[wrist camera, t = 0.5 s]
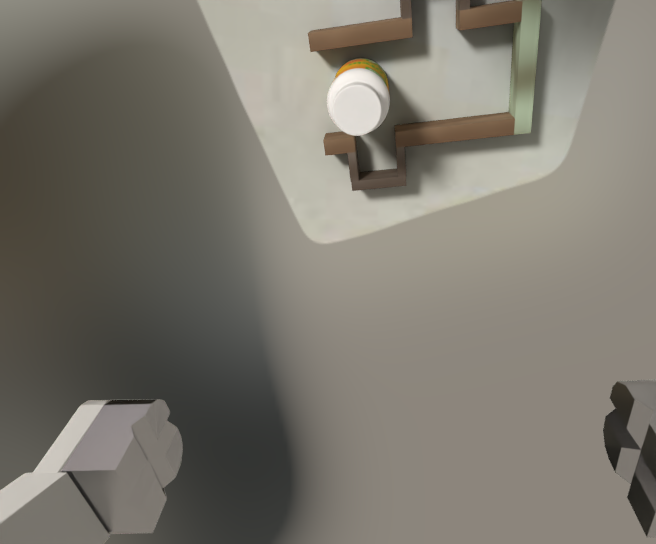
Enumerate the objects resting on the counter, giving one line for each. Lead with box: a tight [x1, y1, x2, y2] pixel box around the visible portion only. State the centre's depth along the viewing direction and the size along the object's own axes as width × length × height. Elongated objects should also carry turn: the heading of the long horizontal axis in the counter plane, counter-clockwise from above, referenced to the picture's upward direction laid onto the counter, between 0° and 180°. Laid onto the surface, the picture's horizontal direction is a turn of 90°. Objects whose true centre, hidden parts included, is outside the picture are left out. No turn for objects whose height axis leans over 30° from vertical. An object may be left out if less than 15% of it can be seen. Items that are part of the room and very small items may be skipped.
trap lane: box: [308, 0, 542, 191], centre depth 44 cm, size 19×20×2 cm
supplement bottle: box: [327, 58, 390, 136], centre depth 42 cm, size 5×5×10 cm
